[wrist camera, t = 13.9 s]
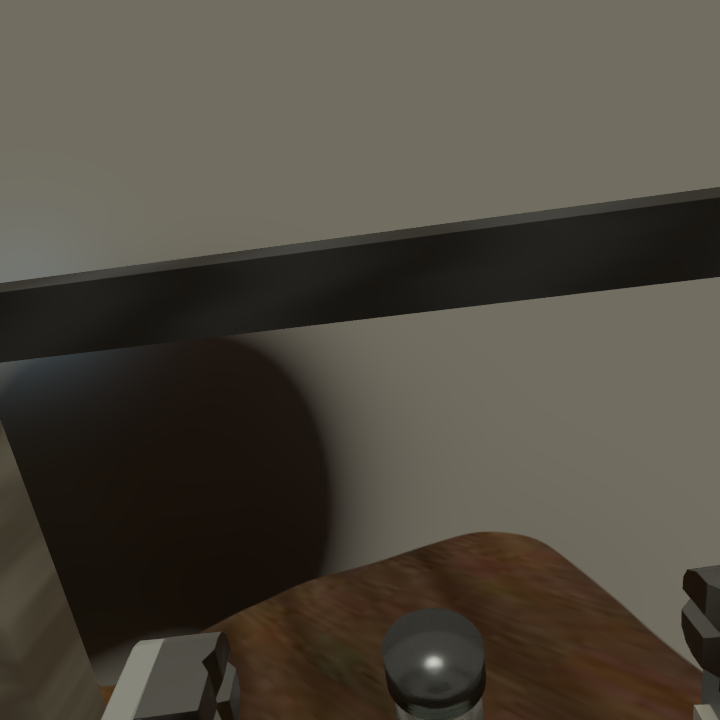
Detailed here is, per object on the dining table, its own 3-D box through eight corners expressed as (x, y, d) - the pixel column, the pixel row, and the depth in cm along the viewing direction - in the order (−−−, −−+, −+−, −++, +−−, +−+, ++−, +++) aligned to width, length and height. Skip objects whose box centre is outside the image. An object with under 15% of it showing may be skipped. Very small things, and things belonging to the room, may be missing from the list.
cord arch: (117, 1037, 27) (-223, 322, 16) (143, 955, 30) (-131, 300, 19) (925, 1041, 24) (1209, 134, 13) (868, 948, 27) (1059, 140, 15)
